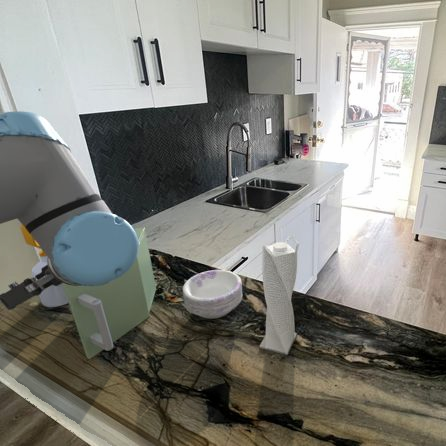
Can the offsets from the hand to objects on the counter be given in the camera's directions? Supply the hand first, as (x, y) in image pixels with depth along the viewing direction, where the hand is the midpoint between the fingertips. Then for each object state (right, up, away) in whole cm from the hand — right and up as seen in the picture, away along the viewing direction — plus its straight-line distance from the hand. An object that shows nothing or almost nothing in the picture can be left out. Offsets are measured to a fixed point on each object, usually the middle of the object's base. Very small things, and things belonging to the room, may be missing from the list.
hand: (68, 266), depth 59 cm
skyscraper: (+39, -21, +16) cm, 47 cm away
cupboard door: (+3, -20, +16) cm, 25 cm away
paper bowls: (+20, -15, +27) cm, 37 cm away
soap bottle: (-24, -13, +30) cm, 41 cm away
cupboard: (-6, -15, +28) cm, 32 cm away
